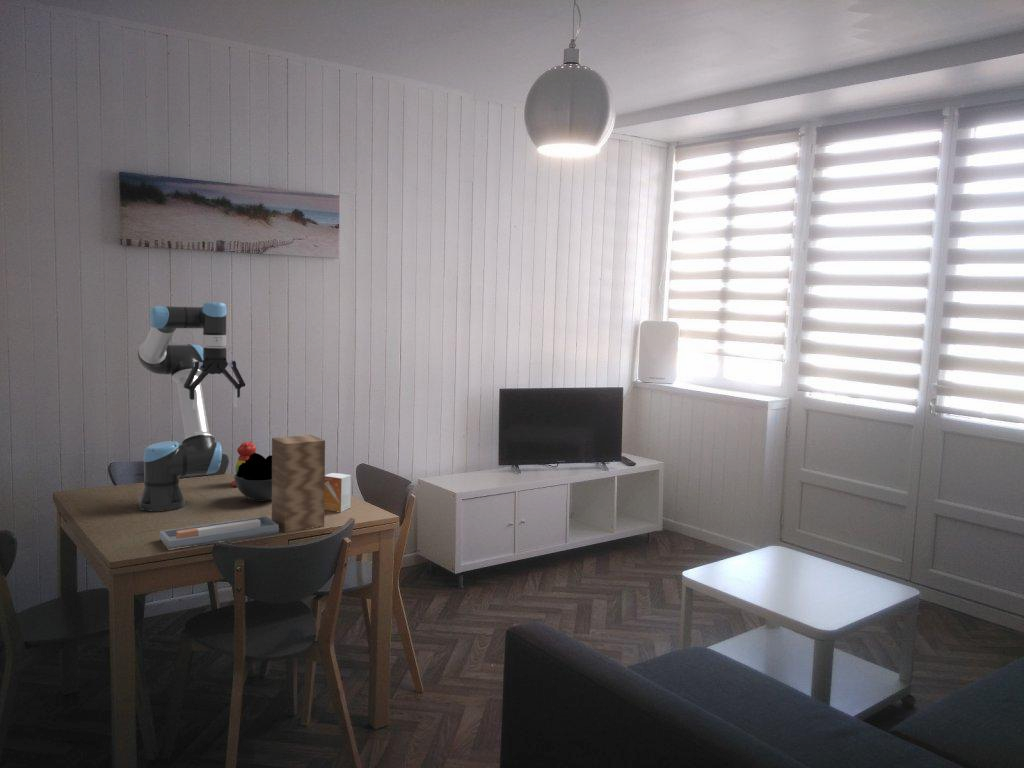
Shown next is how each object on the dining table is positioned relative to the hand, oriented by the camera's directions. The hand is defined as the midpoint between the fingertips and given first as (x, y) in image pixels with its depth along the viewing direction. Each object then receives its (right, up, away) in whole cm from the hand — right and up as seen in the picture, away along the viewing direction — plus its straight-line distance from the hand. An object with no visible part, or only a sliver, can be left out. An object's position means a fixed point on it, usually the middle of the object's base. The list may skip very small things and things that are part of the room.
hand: (215, 408), depth 266 cm
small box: (+38, -39, +18) cm, 57 cm away
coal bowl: (+7, -36, +27) cm, 46 cm away
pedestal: (+30, -40, -2) cm, 50 cm away
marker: (+9, -40, -18) cm, 45 cm away
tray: (+9, -41, -18) cm, 46 cm away
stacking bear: (-6, -33, +51) cm, 61 cm away
